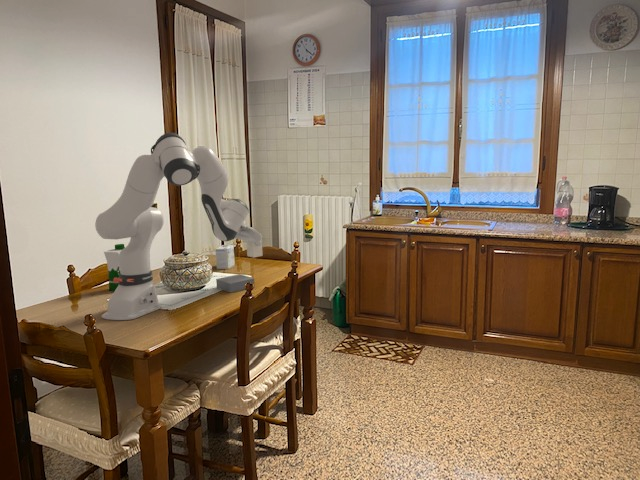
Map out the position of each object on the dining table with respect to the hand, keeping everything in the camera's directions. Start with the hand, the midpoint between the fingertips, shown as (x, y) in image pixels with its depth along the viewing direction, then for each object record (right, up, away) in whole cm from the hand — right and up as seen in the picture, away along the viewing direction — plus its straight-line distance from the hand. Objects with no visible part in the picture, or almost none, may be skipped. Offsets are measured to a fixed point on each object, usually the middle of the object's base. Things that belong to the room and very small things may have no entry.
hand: (255, 244), depth 228 cm
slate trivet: (-8, -19, -7) cm, 22 cm away
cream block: (0, -5, 0) cm, 5 cm away
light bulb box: (-20, -12, +36) cm, 43 cm away
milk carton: (-60, -20, -2) cm, 64 cm away
